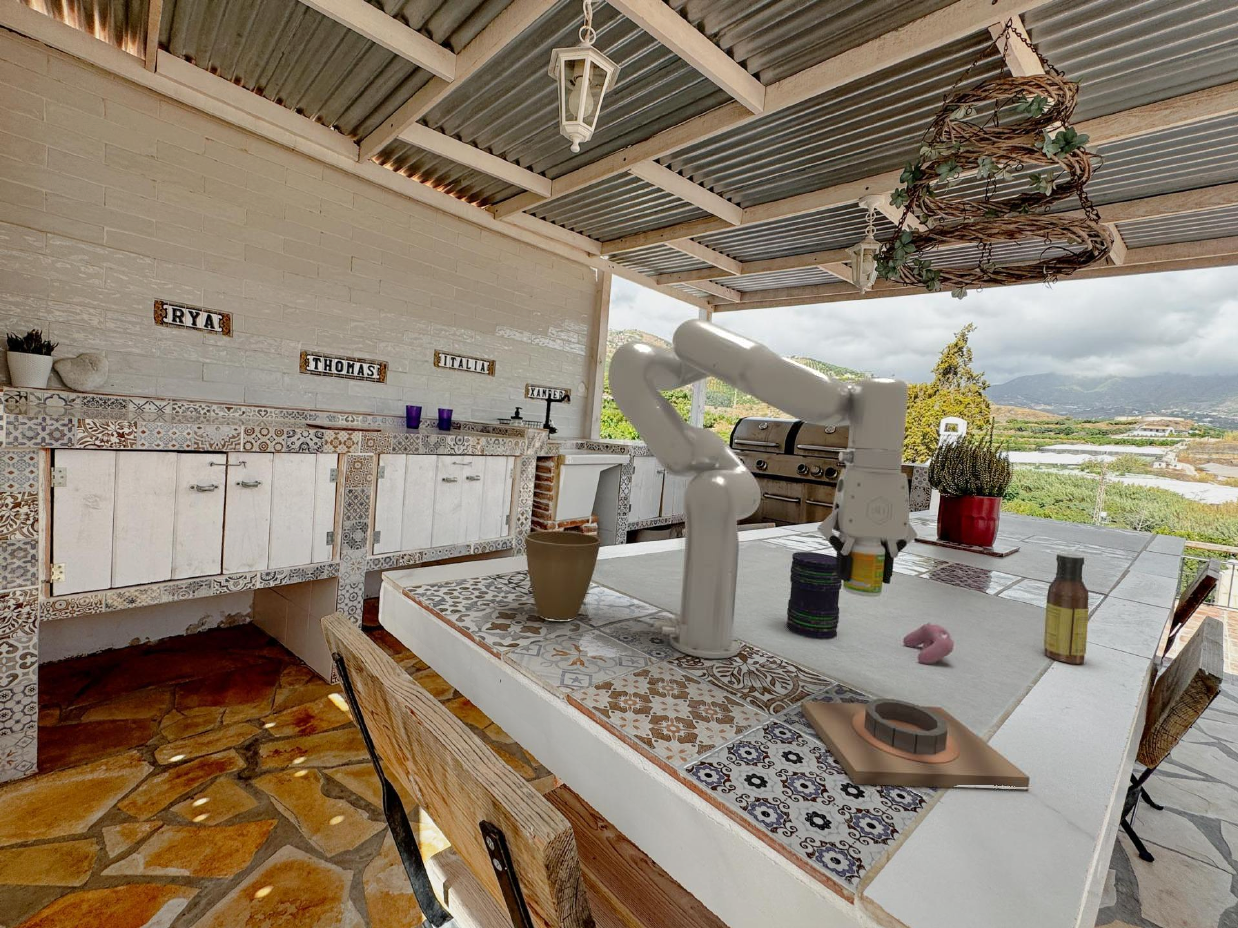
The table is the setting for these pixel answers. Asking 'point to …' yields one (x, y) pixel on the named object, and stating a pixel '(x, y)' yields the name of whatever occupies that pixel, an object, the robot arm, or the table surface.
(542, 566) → the plant pot
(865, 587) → the supplement bottle
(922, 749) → the socket board
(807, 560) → the storage jar
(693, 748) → the table surface
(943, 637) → the video game controller
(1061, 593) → the sauce bottle
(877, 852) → the table surface
